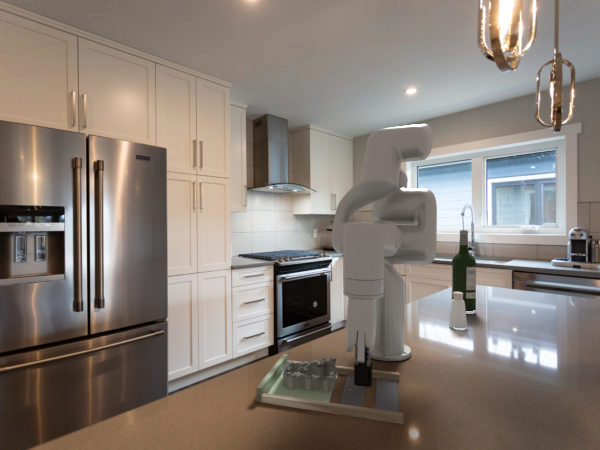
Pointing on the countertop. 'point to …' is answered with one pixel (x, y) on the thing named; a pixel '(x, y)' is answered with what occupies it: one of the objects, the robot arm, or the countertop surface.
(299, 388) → the pad
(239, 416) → the countertop surface
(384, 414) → the channel
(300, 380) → the egg carton
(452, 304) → the salt shaker
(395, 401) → the strips
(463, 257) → the wine bottle
